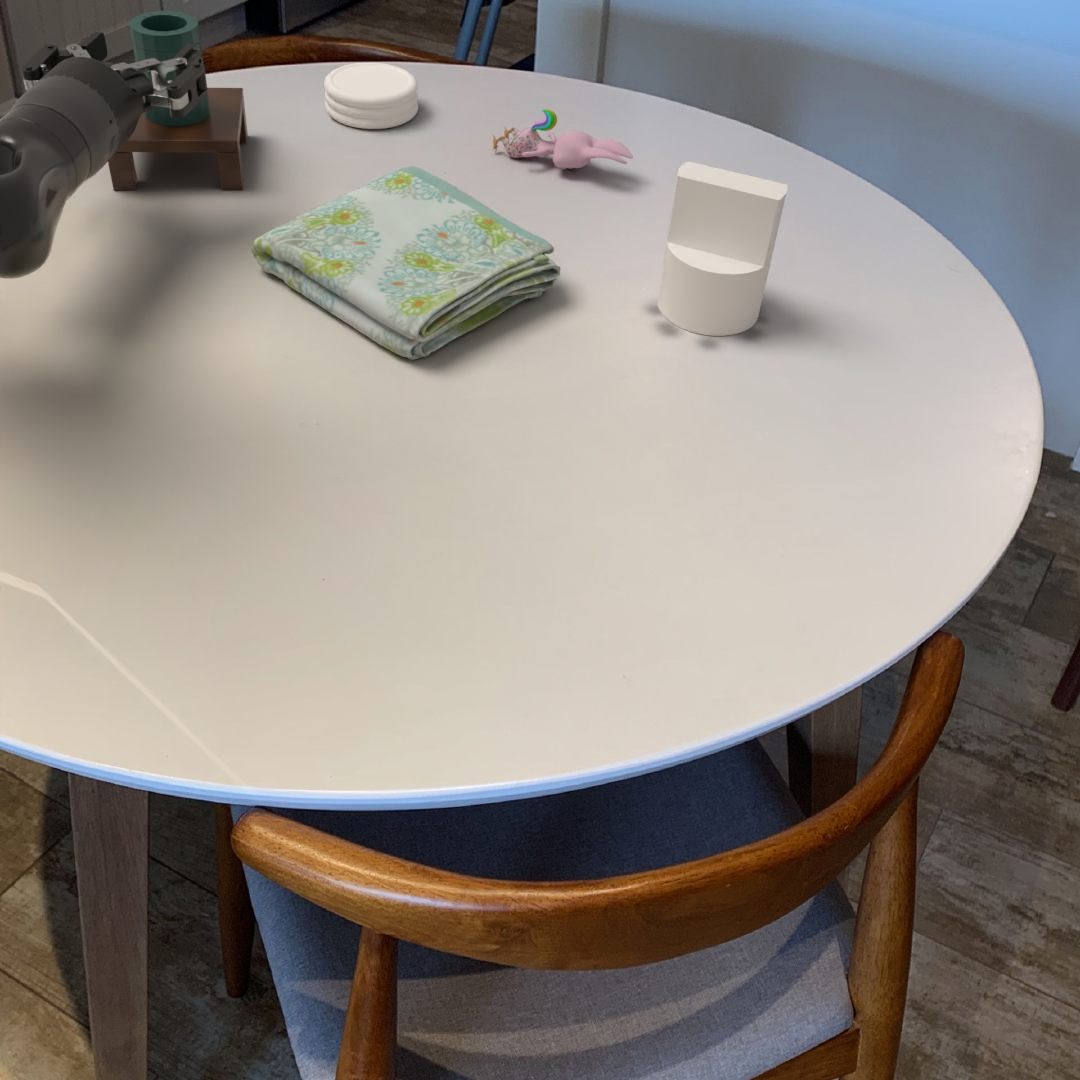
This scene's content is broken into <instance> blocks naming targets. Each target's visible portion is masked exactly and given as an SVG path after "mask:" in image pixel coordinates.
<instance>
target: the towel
mask: <svg viewBox="0 0 1080 1080" xmlns="http://www.w3.org/2000/svg"><path fill="white" fill-rule="evenodd" d="M250 251H251V254H252V255H253V257H254V259H255V261H256V263H257V264H258V266H259V267H260V268H261V270H262V271H264V272H265V273H267V274H272V275H274V276H276V277H277V278H278V279H281V280H282V281H283V282H284V283H285V284H286V285H287V286H288V287H289V288H291V289H293V290H294V291H296V292H298V293H299V294H301V295H302V296H303V297H305V298H307V299H308V300H311V301H312V302H313V303H315V304H316V305H318V306H319V307H321V308H322V309H324V310H325V311H326V312H328V313H330V314H331V315H333V316H335V317H336V318H338V319H340V320H341V321H343V322H345V323H346V324H348V325H349V326H350V327H352V328H354V329H355V330H356V331H358V332H360V333H361V334H363V335H364V336H366V337H368V338H369V339H371V340H372V341H373V342H375V343H376V344H377V345H380V346H381V347H384V348H385V349H387V350H389V351H390V352H393V353H394V354H396V355H399V356H400V357H403V358H406V359H409V360H410V361H414V360H418V359H421V358H425V357H428V356H429V355H430V354H431V353H434V352H436V351H437V350H439V349H441V348H442V347H444V346H445V345H447V344H449V343H450V342H452V341H454V340H455V339H458V338H460V337H461V336H463V335H465V334H466V333H469V332H471V331H472V330H475V329H476V328H478V327H480V326H481V325H484V324H485V323H488V322H489V321H490V320H492V319H494V318H496V317H497V316H499V315H500V314H502V313H504V312H505V311H506V310H508V309H509V308H511V307H514V306H515V305H518V303H520V302H522V301H524V300H526V299H533V298H539V297H541V296H542V294H543V292H547V291H549V290H550V289H553V288H554V287H555V284H556V282H557V280H558V279H557V278H558V277H560V275H561V266H560V265H558V264H556V263H555V261H554V260H553V259H551V258H549V256H547V255H551V254H553V253H554V251H555V247H554V246H553V245H552V244H551V243H550V242H549V241H547V240H546V239H544V238H543V237H540V236H539V235H537V234H534V233H532V232H530V231H528V230H526V229H524V228H522V227H521V226H519V225H517V224H516V223H514V222H513V221H510V219H507V218H506V217H504V216H502V215H500V214H499V213H497V212H496V211H494V210H493V209H491V208H490V207H489V206H486V205H485V204H484V203H482V202H481V201H479V200H477V198H474V197H473V196H471V195H470V194H468V193H466V192H464V191H463V190H462V189H459V188H458V187H457V186H455V185H453V184H451V183H449V182H448V181H446V180H444V179H442V178H440V177H439V176H436V175H434V174H433V173H431V172H429V171H427V170H424V169H422V168H420V167H419V166H414V165H412V166H411V165H410V166H404V167H401V168H399V169H398V170H394V171H391V172H390V173H388V174H385V175H382V176H380V177H378V178H376V179H374V180H372V181H370V182H368V183H365V184H363V185H362V186H359V187H357V188H355V189H354V190H353V189H352V190H350V191H349V192H347V193H344V194H342V195H341V196H339V197H336V198H333V199H331V200H329V201H327V202H325V203H322V204H321V205H318V206H316V207H314V208H312V209H311V210H309V211H307V212H306V211H305V212H304V213H302V214H300V215H298V216H296V217H294V218H292V219H290V220H288V221H286V222H285V223H282V224H280V225H278V226H276V227H275V228H273V229H271V230H268V231H267V232H265V233H264V234H262V235H260V236H259V237H257V238H255V239H254V240H253V241H252V245H251V247H250Z"/></svg>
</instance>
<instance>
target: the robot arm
mask: <svg viewBox="0 0 1080 1080" xmlns="http://www.w3.org/2000/svg"><path fill="white" fill-rule="evenodd" d="M58 46H59V45H56V44H51V43H49V44H46V45H43V46H42V47H41V48H40V49H39V50H38V51H37V52H36V53H35V54H34V55H33V56H32V57H31V58H30V59H29V60H28V61H27V62H26V63H25V64H24V65H23V66H22V67H21V68H20V70H21V74H22V80H23V84H24V88H25V92H24V93H23V94H22V95H21V96H20V97H19V98H18V100H16V101H15V103H14V104H13V106H12V108H11V109H10V111H8V112H7V113H6V114H4V116H2V117H1V118H0V279H5V280H10V279H13V280H14V279H20V278H23V277H26V276H29V275H31V274H32V273H34V272H36V271H38V270H39V269H40V268H41V267H42V266H43V265H45V264H46V262H47V260H48V259H49V256H50V254H51V251H52V248H53V244H54V239H55V236H56V231H57V228H58V225H59V222H60V220H61V217H62V214H63V212H64V208H65V205H66V203H67V201H69V200H70V199H71V197H72V196H73V195H74V194H75V193H76V191H78V190H79V188H80V187H82V185H83V184H84V183H85V182H87V181H88V180H90V179H91V178H93V177H94V176H95V175H97V174H98V173H99V172H100V171H101V170H102V169H103V168H104V167H105V166H106V165H107V163H108V161H109V160H110V159H111V157H112V156H113V155H114V154H115V153H116V152H117V151H118V150H119V149H120V148H121V147H122V145H123V144H124V143H125V142H126V141H127V140H128V139H129V138H130V137H131V135H132V134H133V132H134V130H135V128H136V126H137V123H138V120H139V118H140V115H141V114H142V113H144V112H147V111H149V110H151V109H153V108H154V106H160V107H166V108H170V115H171V117H173V118H183V117H185V116H186V115H187V114H188V113H189V112H190V111H191V110H192V109H193V108H194V107H195V106H196V105H197V104H198V103H199V102H200V101H201V100H202V99H203V98H204V97H205V96H206V95H207V94H208V90H207V88H208V83H207V76H206V67H205V64H202V61H201V54H200V50H197V46H196V44H189V43H187V44H186V45H185V46H184V47H183V48H182V49H181V50H180V51H179V53H178V54H177V55H176V56H175V57H174V59H170V60H166V61H162V62H160V61H159V60H157V59H155V58H150V59H146V60H143V61H139V62H131V63H126V62H125V61H123V62H119V63H115V62H110V61H105V59H107V57H108V47H107V42H106V36H105V33H104V32H100V31H93V32H92V33H91V34H90V35H88V36H86V37H84V38H83V39H82V40H81V41H79V42H78V43H77V44H75V43H72V44H68V45H66V46H65V48H66V49H61V50H59V47H58ZM150 71H151V75H152V81H153V86H152V84H151V83H150V81H149V80H148V78H147V77H146V75H145V74H144V73H146V72H150ZM170 71H174V75H175V79H174V80H173V81H172V80H168V81H167V77H166V75H167V73H168V72H170Z"/></svg>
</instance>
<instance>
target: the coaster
mask: <svg viewBox="0 0 1080 1080" xmlns="http://www.w3.org/2000/svg"><path fill="white" fill-rule="evenodd" d="M323 81H324V82H323V88H324V90H325V91H324V99H325V103H324V107H325V110H326V113H327V114H328V115H329V116H330V117H331V118H332V119H333V120H334V121H336V122H338V123H340V124H343V125H345V126H348V127H352V128H356V129H363V130H364V129H366V130H383V129H390V128H395V127H398V126H401V125H404V124H406V123H408V122H409V121H411V120H412V119H414V117H415V116H416V115H417V113H418V111H419V103H418V100H419V95H418V89H419V84H418V81H417V79H416V77H415V76H414V75H413V74H412V73H411V72H409V71H408V70H406V69H404V68H402V67H400V66H396V65H393V64H388V63H383V62H382V63H381V62H355V63H349V64H345V65H341V66H338V67H337V68H335V69H333V70H331V71H330V72H329V73H328V74H327V75H326V77H325V78H324V80H323Z"/></svg>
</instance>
